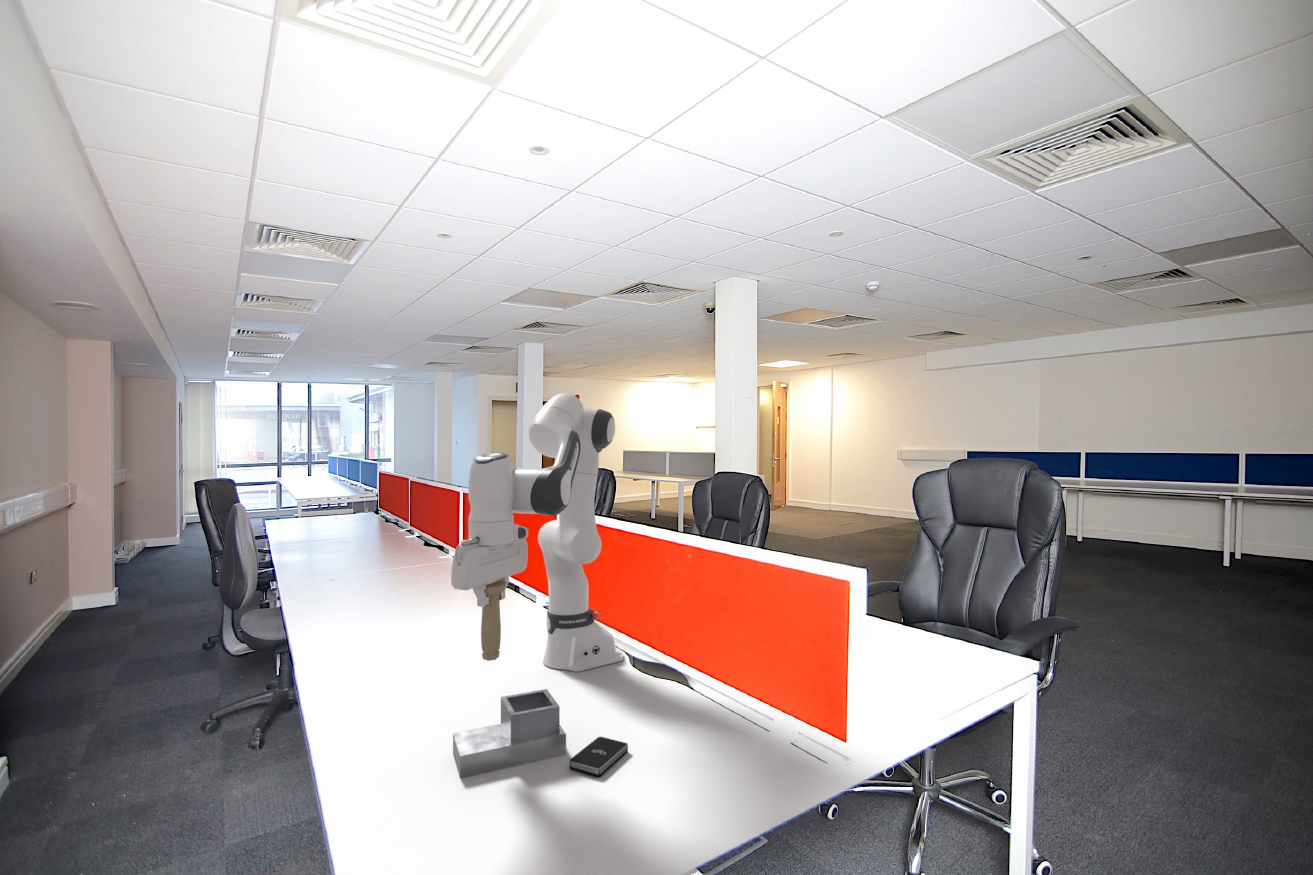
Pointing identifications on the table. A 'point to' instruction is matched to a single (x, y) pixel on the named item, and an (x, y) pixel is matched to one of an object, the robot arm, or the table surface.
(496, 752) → the duct
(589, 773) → the external hard drive
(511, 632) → the table surface
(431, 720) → the table surface
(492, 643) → the handle
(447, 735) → the table surface
